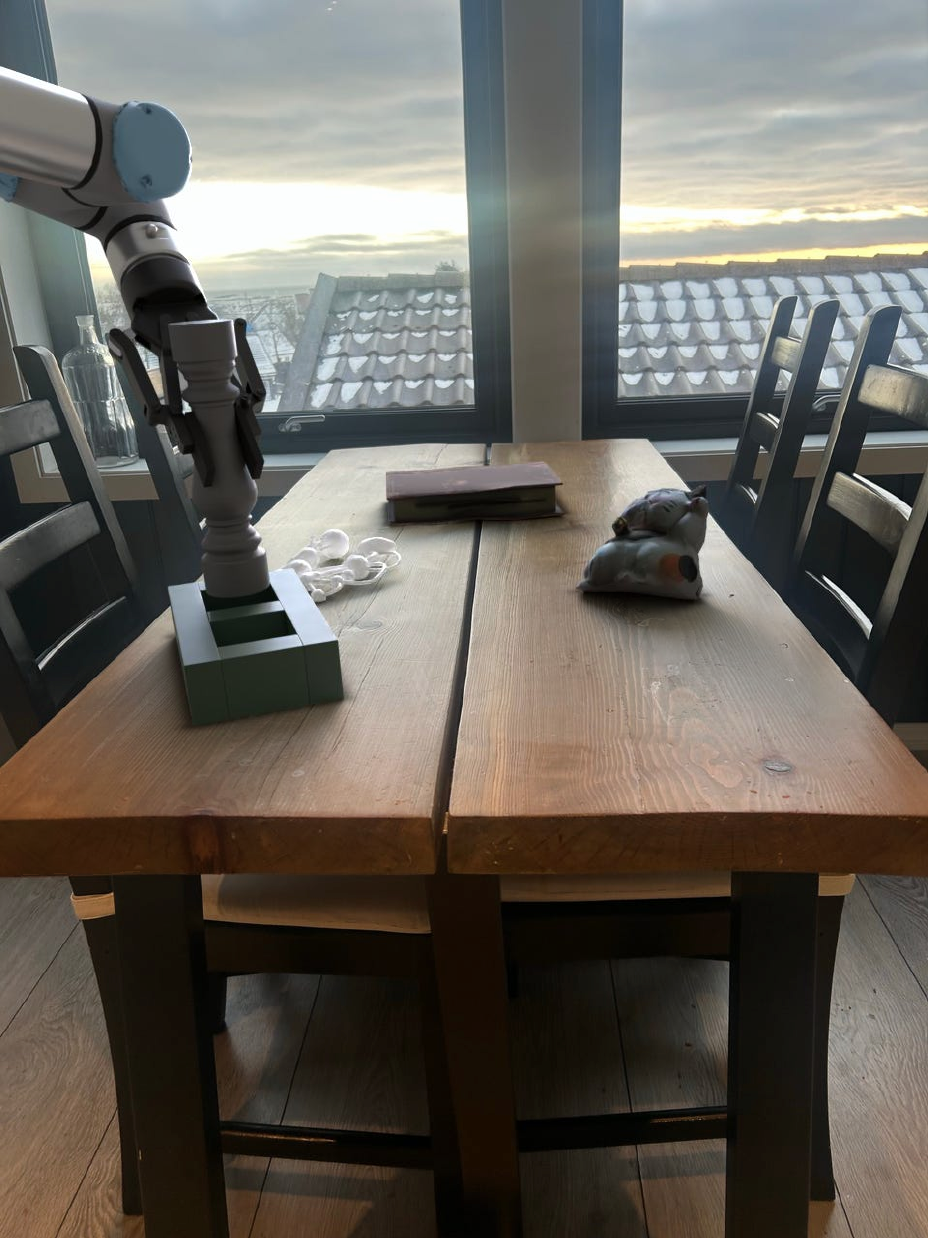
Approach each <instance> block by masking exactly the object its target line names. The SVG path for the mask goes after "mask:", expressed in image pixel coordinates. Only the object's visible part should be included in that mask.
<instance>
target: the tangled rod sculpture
mask: <svg viewBox="0 0 928 1238" xmlns="http://www.w3.org/2000/svg"><path fill="white" fill-rule="evenodd" d="M310 539H311V540H310V543H309V544H308V545H307V546H304V547H303V548H302V549H301V550H300V551H298V553H297V554H295V555H293V556H292V557H291V558H290V559H289V560H288V561H287V563H286V564H284V565H282V566H280V567H279V568H276V570H275V571H278V570H285V569H291V568H293V570H294V571H295V573H296V574H297V576H298V578H299V579H300V581H301V582H302V584H303V585H304V587H305V589H306V590H307V592H308V593H309V592H311V593H310V597H311V598H312V600H313V601H314V603H315V604H316V603H320V602H324V601H326V598H327V597H328V596H330V595H333V594H335V593H337V592H339V591H340V590H342V589H343V588H344V586H345V585H348V586H364V585H365V586H367V585H371V584H374V583H376V582H378V581H379V580H380V579H381V578H382V576H383V575H384V573H386V572H388V571H392V570H395V569H397V568H398V567H400V566H401V564H402V560H403V559H402V555H400V553H398V552H397V551H396V549H397V544H396V542H395V541H393V540H391V539H387V538H384V537H379V536H375V537H374V536H373V537H370V538H365V539H363V540H362V541H360V542H359V544H358V545H357V546H356V549H355V550H353V552H351V553H350V554H349V555H348V556H347V557H346V558H345V559H344V560H343V562H342V563H341V564H338V565H332V566H324V567H318V566H319V564H320V562H321V561H320V559H321V557H320V553H322V554H323V555H324V556H325V557H326V558H329V559H332V560H336V559H341V558H342V557H344V556H345V555H347V553H348V551H349V550H350V539H349V537H348V535H347V534H346V533H345V532H344V531H343V530H341V529H337V528H331V529H328V530H326V531H324V532H323V534H322V535H321V537H320V539H319V540H318V541H316V540H317V536H316V535H312V536H311V537H310ZM317 548H319V549H318V550H317ZM386 556H395V557H396V558H397V562H396V563H394V564H393V565H390V566H387V564H386V563H384V562H382V561H381V560H382V559H383V558H385V557H386ZM317 567H318V568H317ZM373 567H374V568H373ZM375 567H379V568H375ZM370 573H377V574H376V576H375V577H373V578H372V579H369V580H365V579H366V578H367V577H368V576H369V574H370ZM338 574H340V575H338ZM328 577H331V578H329V579H327V578H328ZM325 578H326V579H325ZM317 585H327V586H329V587H330V588H331V590H329V591H326V592H325V591H323V590H322V589H320V588H318V589H316V586H317Z"/></svg>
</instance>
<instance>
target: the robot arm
mask: <svg viewBox="0 0 928 1238" xmlns="http://www.w3.org/2000/svg"><path fill="white" fill-rule="evenodd" d="M192 156H193V150H192V145H191V141H190V138H189V135H188V133H187V130H186V129H185V127H184V125H183V124H182V121H181V120H180V119H179V118H178V116H177V115H175V113H174V112H172V111H171V110H170V109H169V108H168V107H166V106H164V105H162V104H159V103H157V102H153V101H141V102H139V101H137V100H134V101H127V102H125V103H123V104H116V103H111V102H108V101H106V100H103V99H100V98H97V97H94V96H91V95H88V94H84V93H82V92H78V91H73V90H70V89H68V88H64V87H62V86H59V85H56V84H53V83H50V82H47V81H44V80H41V79H38V78H35V77H32V76H30V75H27V74H24V73H22V72H18V71H15V70H12V69H9V68H6V67H3V66H0V198H1V199H2V200H4V202H6V203H9V204H10V203H12V204H14V205H17V206H19V207H22V208H25V209H26V210H29V211H32V212H34V213H36V214H39V215H41V216H44V217H46V218H48V219H51V220H53V221H56V222H59V223H61V224H63V225H65V226H68V227H70V228H72V229H74V230H77V231H80V232H82V233H85V234H87V235H89V236H91V237H94V238H95V239H98V241H99V243H100V245H101V246H102V251H103V252H104V256H105V258H106V260H107V262H108V264H109V268H110V271H111V273H112V276H113V279H114V281H115V284H116V287H117V289H118V291H119V293H120V297H121V299H122V302H123V304H124V308H125V310H126V313H127V315H128V318H129V321H130V327H128V328H126V329H124V330H122V329H120V328H118V327H113V328H111V329H110V330H109V331H108V353H109V354H110V355H111V356H112V357H113V358H114V360H116V361H117V363H118V364H120V366H121V367H122V370H123V372H124V375H125V377H126V379H127V382H128V384H129V386H130V389H131V391H132V393H133V395H134V398H135V400H136V402H137V405H138V407H139V409H140V412H141V414H142V416H143V419H144V421H145V423H146V425H148V426H149V427H152V428H155V427H158V426H159V425H161V426H165V427H166V432H167V433H168V434H170V435H172V437H173V438H174V441H175V444H176V446H177V449H178V451H179V453H180V454H181V455H182V456H184V455H191V458H192V460H193V464H194V463H195V466H196V468H197V471H198V473H199V476H200V479H201V481H202V484H203V486H204V488H205V487H211V486H212V484H213V480H214V475H215V470H216V468H215V466H214V463H213V461H212V458H211V456H210V453H209V451H208V448H207V446H206V443H205V440H204V438H203V435H202V433H201V430H200V428H199V425H198V423H197V420H196V418H195V415H194V412H193V411H191V410H190V411H185V412H184V405H183V399H182V396H181V393H182V389H181V382H180V376H179V370H178V364H177V363H176V362H175V361H173V355H172V348H171V342H170V335H169V329H168V324H172V323H180V322H191V321H204V320H220V318H219V316H218V315H217V313H215V312H214V311H213V310H211V309H210V307H209V305H208V302H207V298H206V296H205V293H204V291H203V288H202V287H201V284H200V282H199V278H198V276H197V274H196V272H195V271H194V269H193V266H192V263H191V261H190V258H189V255H188V253H187V250H186V249H185V246H184V244H183V240H182V239H181V237H180V234H179V232H178V230H177V229H178V228H176V227H175V224H174V221H173V218H172V216H171V214H170V210H169V208H168V206H167V203H166V200H165V199H168V198H172V197H174V196H175V195H178V194H179V193H180V192H181V191H182V190H183V189H184V188H185V187H186V186H187V184H188V182H189V180H190V178H191V173H192V168H193V157H192ZM233 325H234V333H235V341H236V348H237V356H236V357H235V364H236V365H235V367H234V369H235V370H236V373H237V376H238V377H236V375H235V374H234V372H232V376H231V378H230V382H231V383H232V384H233V385H235V386H236V387H237V388H239V391H240V394H239V396H238V397H237V398H235V403H234V410H235V418H236V425H237V433H238V437H239V440H240V444H241V448H242V452H243V455H244V459H245V463H246V466H247V468H248V471H249V473H250V476H251V478H252V480H260V479H261V476H262V472H263V470H264V469H263V468H264V466H265V461H266V460H265V459H264V456H263V454H262V452H261V449H260V447H259V444H260V441H261V437H262V429H261V426H260V424H259V422H258V421H259V420H258V419H257V417H256V414H261V413H262V412H263V409H264V406H265V401H266V397H267V394H268V393H267V390H266V387H265V384H264V381H263V379H262V376H261V373H260V372H259V368H258V365H257V363H256V360H255V356H254V355H253V352H252V350H251V347H250V344H249V341H248V338H247V328H248V327H247V326H248V323H247V321H246V319H244V318H242V317H236V318H235V319H234V320H233ZM137 345H140V346H141V347H143V348H144V349H145V350H147V351H148V352H150V353H151V354H153V355H154V356H156V357H157V360H158V366H159V367H158V369H159V373H160V377H161V385H162V392H163V393H162V395H163V401H164V404H162V403H161V400H160V398H159V396H158V394H157V391H156V389H155V387H154V384H153V381H152V380H151V378H150V375H149V374H148V373H149V372H148V371H147V369H146V366H145V364H144V362H143V360H142V357H141V355H140V353H139V350H138V348H137Z"/></svg>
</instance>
